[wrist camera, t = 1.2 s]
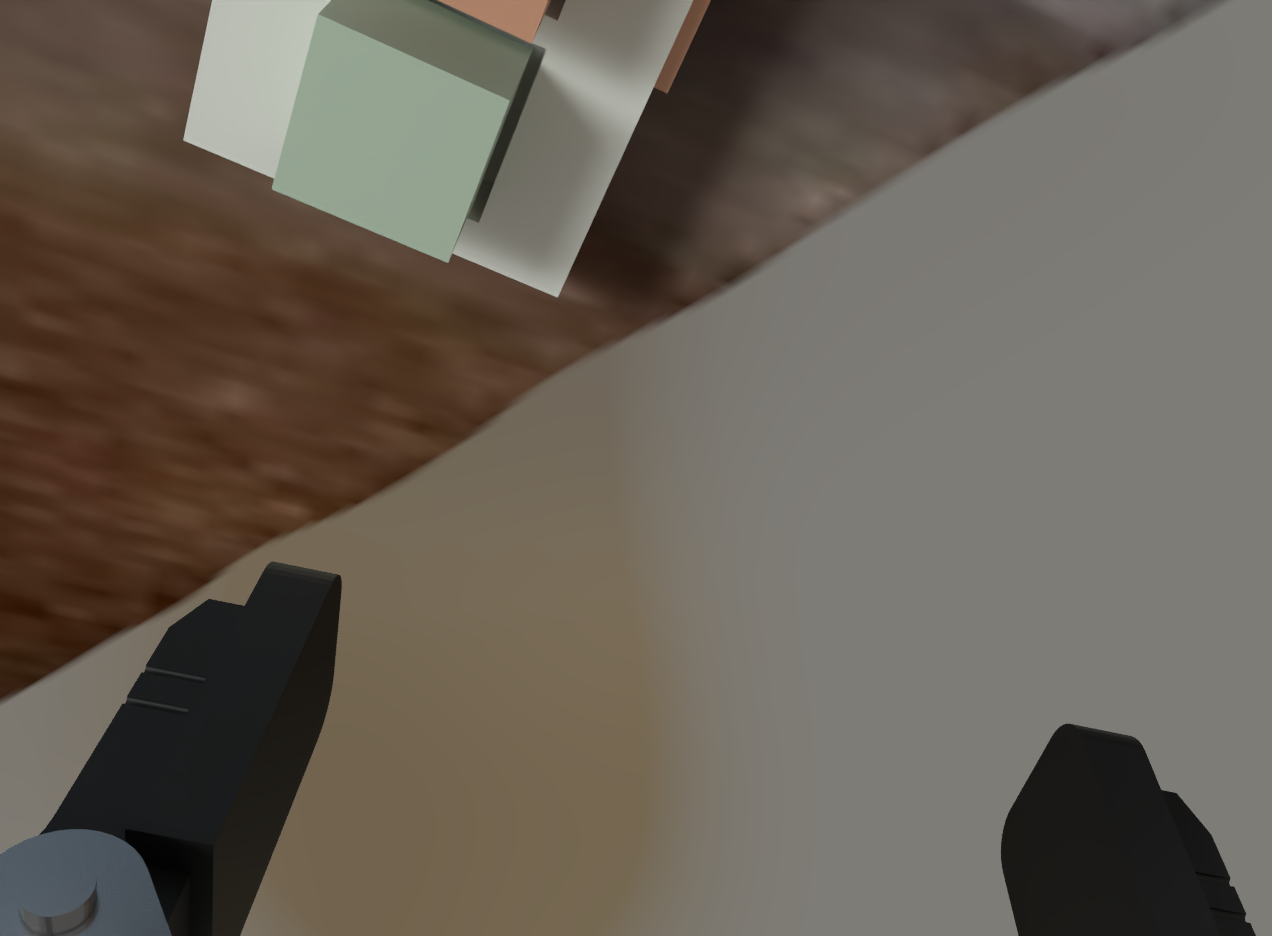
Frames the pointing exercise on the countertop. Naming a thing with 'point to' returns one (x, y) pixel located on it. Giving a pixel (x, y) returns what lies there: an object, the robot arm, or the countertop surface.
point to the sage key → (399, 118)
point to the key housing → (529, 141)
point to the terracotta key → (506, 14)
